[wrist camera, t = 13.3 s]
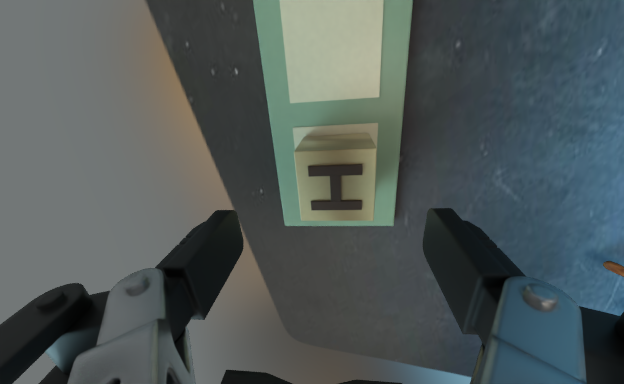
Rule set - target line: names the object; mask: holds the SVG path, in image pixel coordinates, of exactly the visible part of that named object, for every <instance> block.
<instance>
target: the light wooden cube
mask: <svg viewBox="0 0 624 384" xmlns="http://www.w3.org/2000/svg"><path fill="white" fill-rule="evenodd" d="M294 160H295V169H296V179H297V188H298V197H299V207H300V216H301V221H373V220H374V206H375V183H376V161H377V148H376V146H375V144H374V142H373V140H372V138H371V137H370V135H369V133H364V134H344V135H324V136H304V137H303V139H302V140H301V142H300V143H299V145H298V146H297V148H296V149H295V151H294Z"/></svg>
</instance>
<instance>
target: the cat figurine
mask: <svg viewBox="0 0 624 384" xmlns="http://www.w3.org/2000/svg"><path fill="white" fill-rule="evenodd" d="M603 265H604V267H605V268H606V269H608V270H610V271H612V272H614V273H616V274H619V275H621V276H623V277H624V266H622V265H619V264H617V263H615V262H612V261H606V262H604V263H603Z"/></svg>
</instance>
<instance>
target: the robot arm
mask: <svg viewBox="0 0 624 384" xmlns="http://www.w3.org/2000/svg"><path fill="white" fill-rule="evenodd" d="M242 251H243V237H242V232H241V228H240V224H239V220H238V216H237V213H236V211H234V210H217V211H215V212H214V213H213V214H212V215H211V216H210V218H209V219H208V220H207V221H206V222H203V223H201V224H200V225H198V226H197V227H195V228H193V229H192V230H191V231H190V232H189V234H188V235H187V236H186V238H184V239H183V240H182V241H181V242H180V243H179V245H177V246H176V247H175V248H174V249H173V250H172V251H171V252H170V253H169V254H168V255H167V256H166V257H165V258H164V259H163V260H162V261H161V262H160V263H159V264H158V265H157V266H156V267H155V268H148V269H143V270H140V271H137V272H134V273H132V274H130V275H128V276H127V277H125V278H124V279H122V280H121V281H119V282H118V283H117V284H116V285H115V286H114V287H113V288H112V289H111V291H107V292H102V293H97V294H92V295H89V294H88V293H87V291H86V289H85V288H84V287H83V285H82V284H79V283H72V284H67V285H63V286H60V287H57V288H55V289H52V290H50V291H48V292H46V293H44V294H42V295H40V296H39V297H37V298H36V299H34V300H33V301H31V302H30V303H28V304H27V305H26V306H25V307H23V308H22V309H20V310H19V311H18V312H16V313H15V314H14V315H12V316H11V317H10V318H9V319H7V320H6V321H5V322H3V323H2V324H1V325H0V384H12V383H13V382H14V381H15V380H17V379H18V378H19V377H20V376H21V375H22V374H23V373H24V372H25V371H26V370H27V369H28V368H29V367H30V366H31V365H32V364H33V363H34V362H35V361H36V360H37V359H38V358H39V357H40V356H41V355H42V354H43V353H44V352H45V353H46V354H47V355H48V356H49V357H50V358H51V359H52V360H53V362H54V363H55V364H56V366H55V367H54V368H53V369H52V370H51V372H49V373H48V374H47V375H46V377H45V378H44V379H43V380H42V381H41V382H40V383H39V384H196V383H195V376H194V369H193V361H192V354H191V346H190V338H189V332H188V329H187V324H188V323H189V321H190V320H191V319H199V320H204V319H205V318H206V315H207V314H208V312H209V311H210V308H211V307H212V305H213V303H214V302H215V300H216V298H217V296H218V295H219V293H220V291H221V289H222V287H223V286H224V284H225V282H226V280H227V279H228V277H229V275H230V273H231V271H232V270H233V268H234V266H235V264H236V262H237V261H238V259H239V257H240V255H241V253H242ZM423 251H424V255H425V257H426V260H427V262H428V264H429V266H430V268H431V270H432V272H433V274H434V276H435V278H436V280H437V282H438V284H439V286H440V288H441V290H442V292H443V294H444V296H445V298H446V300H447V302H448V304H449V307H450V309H451V311H452V313H453V315H454V317H455V319H456V321H457V323H458V325H459V327H460V329H461V331H462V333H463V334H475V335H479V337H480V339H481V341H482V345H481V348H480V351H479V354H478V358H477V361H476V365H475V368H474V371H473V375H472V378H471V382H470V384H624V312H623V313H622V315H621V316H617V315H613V314H609V313H605V312H601V311H596V310H592V309H588V308H584V307H580V306H578V305H577V303H576V302H575V301H574V300H573V299H572V298H571V297H570V296H568V295H567V294H566V293H565V292H563V291H562V290H560V289H558V288H557V287H555V286H553V285H551V284H549V283H546V282H544V281H541V280H538V279H535V278H531V277H526V276H525V275H524V274H523V273H522V272H521V270H520V269H519V268H518V267H517V266H516V265H515V264H514V263H513V262H512V261H511V260H510V259H509V258H508V257H507V256H506V255H505V254H504V253H503V252H502V251H501V250H500V248H497V245H496V244H495V243H494V242H493V241H492V240H490V239H489V237H488V236H487V235H486V234H485V233H484V232H483V231H482V230H481V229H480V228H479V227H477V226H475V225H473V224H472V223H470V222H468V221H463V220H462V219H461V218H460V217H459V216H458V215H457V214H456V213H455V211H454V210H453V209H451V208H431V209H429V210H428V213H427V219H426V225H425V231H424V238H423ZM221 384H292V383H290V382H287V381H285V380H282V379H280V378H278V377H275V376H273V375H271V374H268V373H261V372H249V371H236V370H226V372H225V374H224V377H223V380H222V382H221ZM339 384H402V383H392V382H379V381H366V380H352V381H348V382H344V383H339Z"/></svg>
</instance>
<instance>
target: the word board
mask: <svg viewBox="0 0 624 384" xmlns="http://www.w3.org/2000/svg"><path fill="white" fill-rule="evenodd" d="M253 4H254V11H255V18H256V25H257V32H258V39H259V46H260V53H261V60H262V68H263V75H264V82H265V89H266V96H267V103H268V110H269V117H270V124H271V131H272V138H273V145H274V152H275V160H276V167H277V174H278V181H279V188H280V195H281V202H282V209H283V216H284V223H285V226H393V225H394V214H395V202H396V191H397V179H398V168H399V156H400V145H401V133H402V122H403V110H404V98H405V87H406V75H407V64H408V52H409V41H410V29H411V18H412V6H413V0H253ZM364 133H369V135H370V137H371V138H372V140H373V142H374V144H375V146H376V148H377V161H376V183H375V206H374V220H373V221H301V216H300V207H299V197H298V188H297V179H296V169H295V160H294V151H295V149H296V148H297V146H298V145H299V143H300V142H301V140H302V139H303V137H304V136H324V135H344V134H364Z"/></svg>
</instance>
